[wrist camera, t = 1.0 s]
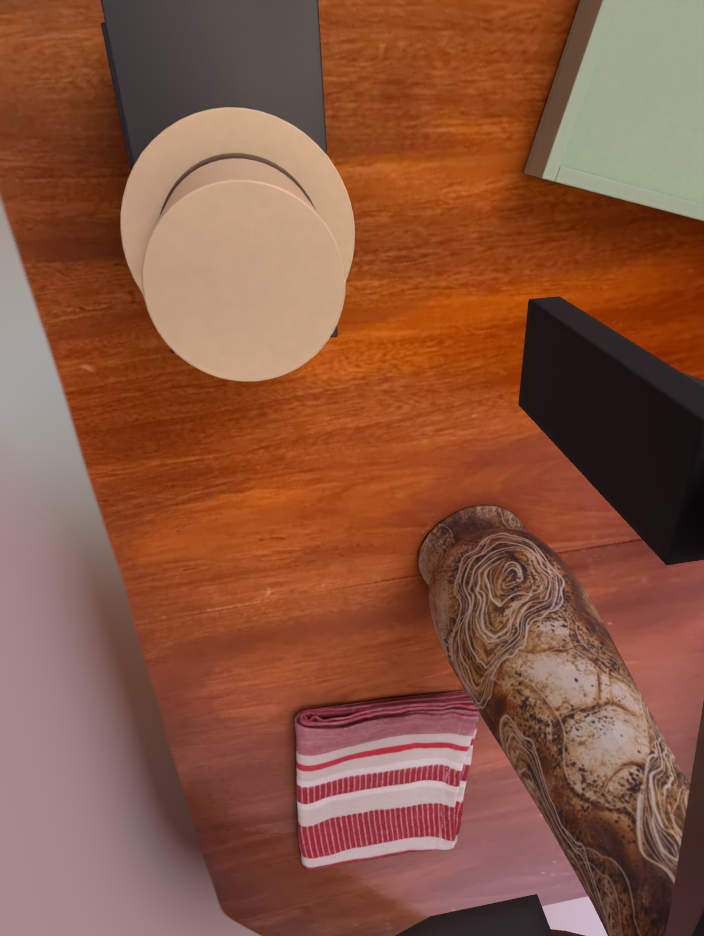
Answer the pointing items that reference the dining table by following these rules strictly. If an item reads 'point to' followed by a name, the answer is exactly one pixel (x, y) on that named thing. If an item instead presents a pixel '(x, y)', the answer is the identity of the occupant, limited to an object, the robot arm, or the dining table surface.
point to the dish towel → (382, 777)
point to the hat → (239, 242)
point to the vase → (561, 710)
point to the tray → (629, 105)
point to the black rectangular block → (213, 63)
